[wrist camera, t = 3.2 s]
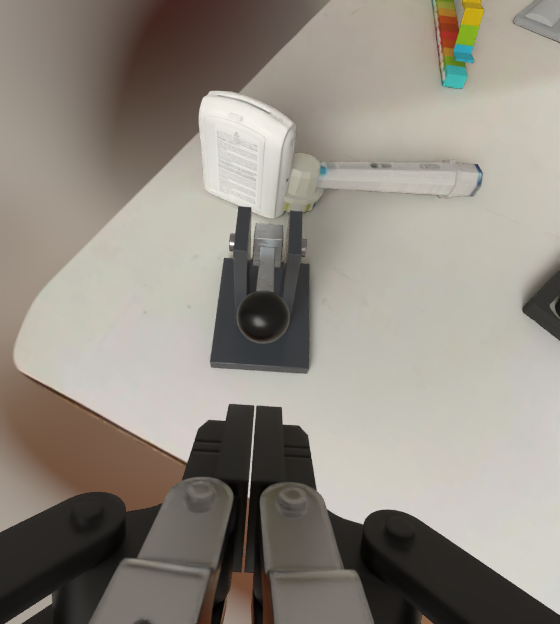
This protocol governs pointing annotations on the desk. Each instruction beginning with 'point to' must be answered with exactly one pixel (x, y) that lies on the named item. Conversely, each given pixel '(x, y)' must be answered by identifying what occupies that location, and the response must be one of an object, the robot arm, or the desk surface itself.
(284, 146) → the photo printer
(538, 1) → the office telephone
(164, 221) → the desk surface
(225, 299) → the dark grey pivot stand
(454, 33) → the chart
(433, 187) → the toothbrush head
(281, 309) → the lever with ball knob
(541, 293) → the vhs tape
